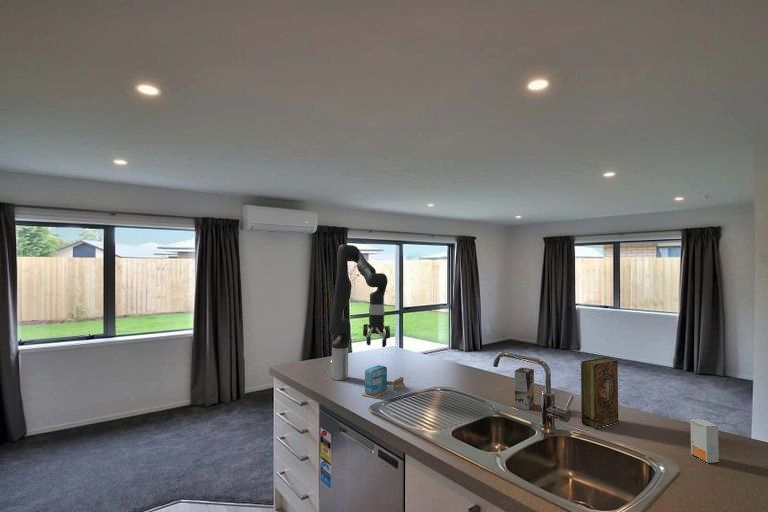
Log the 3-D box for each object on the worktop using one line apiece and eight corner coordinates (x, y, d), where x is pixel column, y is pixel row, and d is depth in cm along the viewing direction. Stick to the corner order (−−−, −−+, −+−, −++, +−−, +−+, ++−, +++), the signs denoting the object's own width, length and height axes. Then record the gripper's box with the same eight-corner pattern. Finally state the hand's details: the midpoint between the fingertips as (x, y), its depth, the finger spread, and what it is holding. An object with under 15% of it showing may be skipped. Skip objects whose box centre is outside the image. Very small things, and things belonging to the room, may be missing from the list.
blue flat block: (371, 396, 183) (371, 370, 183) (364, 394, 186) (364, 369, 186) (387, 390, 192) (387, 365, 193) (380, 388, 195) (380, 364, 196)
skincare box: (690, 455, 127) (689, 418, 127) (702, 454, 127) (701, 418, 128) (707, 464, 121) (706, 426, 121) (719, 463, 121) (718, 425, 122)
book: (607, 417, 159) (606, 357, 160) (620, 422, 154) (619, 359, 155) (581, 424, 152) (580, 361, 152) (594, 430, 147) (593, 364, 148)
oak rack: (368, 386, 200) (368, 376, 201) (377, 381, 209) (377, 372, 209) (396, 391, 192) (396, 381, 193) (404, 386, 201) (404, 376, 201)
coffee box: (529, 410, 167) (528, 373, 168) (514, 407, 171) (514, 371, 171) (534, 404, 174) (534, 368, 175) (520, 401, 178) (519, 366, 179)
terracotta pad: (361, 395, 185) (361, 394, 185) (375, 388, 197) (375, 387, 197) (376, 398, 181) (376, 397, 181) (389, 390, 193) (389, 389, 193)
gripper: (392, 313, 190) (392, 346, 190) (368, 311, 197) (367, 343, 196) (385, 315, 184) (385, 349, 183) (360, 313, 190) (360, 345, 190)
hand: (376, 346), depth 190 cm, fingers open, 8 cm apart
